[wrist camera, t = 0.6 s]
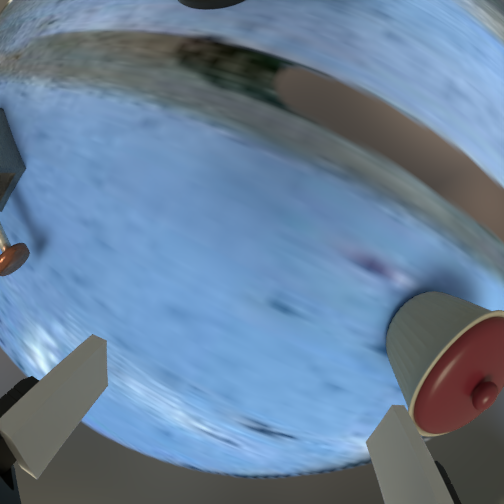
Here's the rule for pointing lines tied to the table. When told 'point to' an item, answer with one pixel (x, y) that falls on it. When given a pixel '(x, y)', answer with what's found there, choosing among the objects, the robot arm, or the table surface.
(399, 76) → the table surface
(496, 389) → the canister
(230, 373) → the table surface
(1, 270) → the plunger
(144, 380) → the table surface
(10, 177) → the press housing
